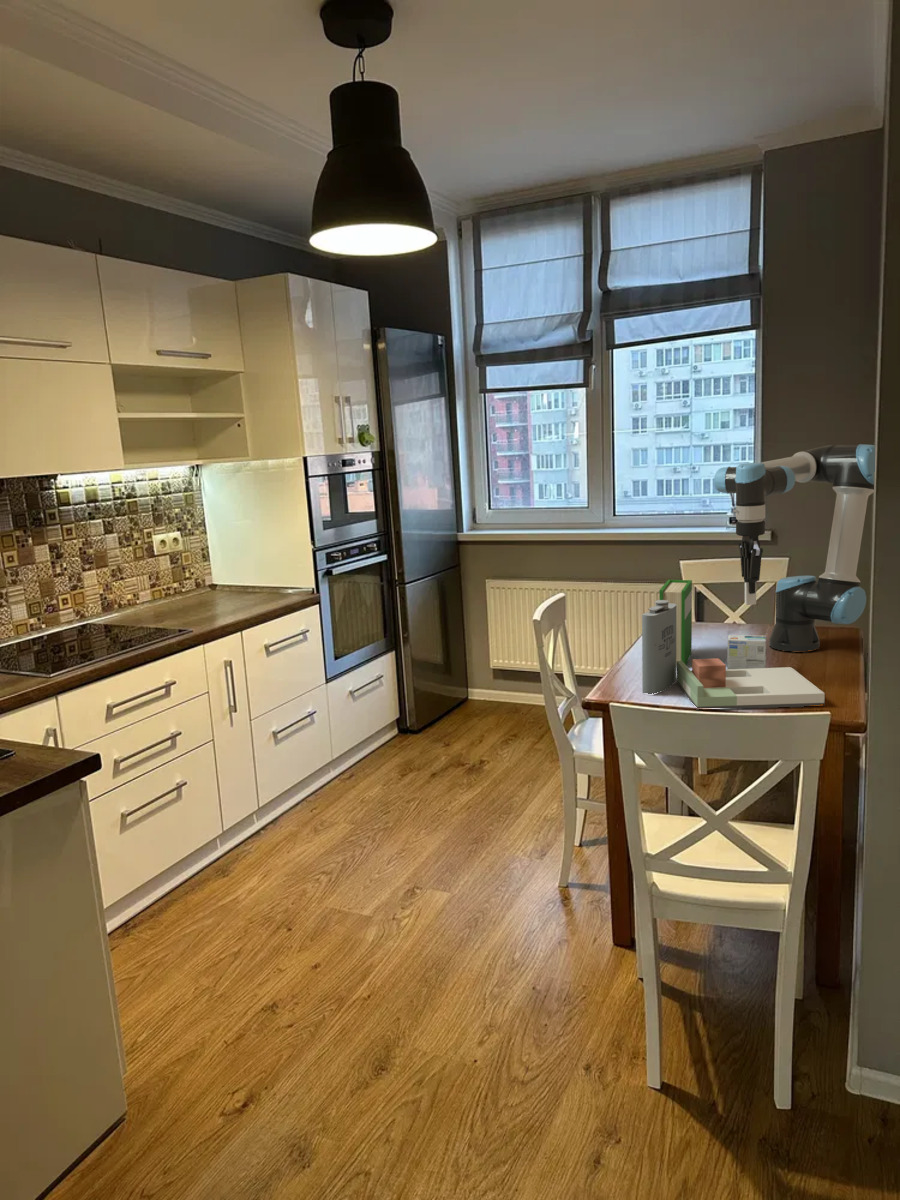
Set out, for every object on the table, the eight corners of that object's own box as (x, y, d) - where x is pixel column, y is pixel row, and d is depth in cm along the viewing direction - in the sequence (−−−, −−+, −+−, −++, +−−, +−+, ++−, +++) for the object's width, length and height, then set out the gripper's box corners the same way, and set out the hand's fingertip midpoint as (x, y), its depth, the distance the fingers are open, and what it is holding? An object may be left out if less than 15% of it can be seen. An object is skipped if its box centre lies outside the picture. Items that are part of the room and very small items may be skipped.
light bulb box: (765, 670, 242) (766, 634, 240) (766, 676, 236) (766, 640, 234) (727, 668, 246) (727, 633, 244) (727, 674, 240) (727, 639, 238)
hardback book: (684, 668, 248) (684, 590, 244) (659, 666, 251) (659, 590, 247) (691, 653, 264) (692, 580, 260) (668, 652, 267) (668, 579, 262)
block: (717, 679, 224) (718, 658, 223) (725, 687, 217) (725, 665, 216) (692, 680, 225) (692, 659, 223) (699, 688, 218) (699, 666, 217)
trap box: (790, 679, 233) (791, 657, 231) (824, 706, 209) (825, 682, 208) (676, 682, 235) (676, 661, 233) (697, 710, 211) (697, 686, 210)
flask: (656, 696, 224) (656, 607, 219) (640, 693, 227) (640, 605, 222) (680, 679, 237) (681, 595, 232) (665, 677, 240) (665, 594, 235)
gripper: (729, 518, 230) (729, 600, 235) (744, 524, 218) (744, 610, 223) (756, 516, 230) (756, 598, 235) (772, 522, 217) (772, 608, 222)
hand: (750, 604), depth 229 cm, fingers closed
